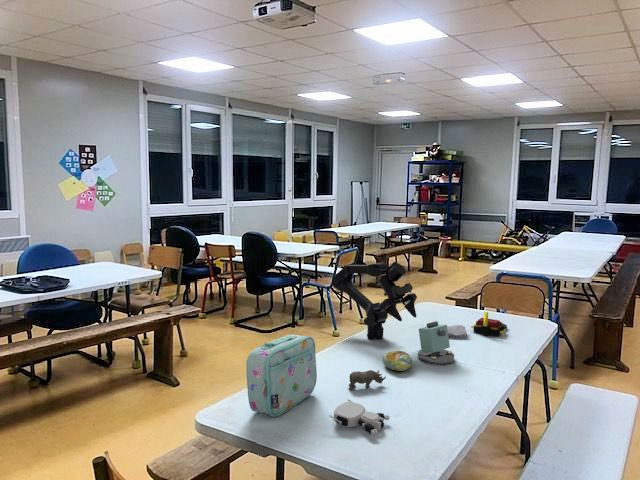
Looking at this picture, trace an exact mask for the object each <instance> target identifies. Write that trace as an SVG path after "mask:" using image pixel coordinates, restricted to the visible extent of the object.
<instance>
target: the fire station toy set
mask: <svg viewBox="0 0 640 480" xmlns="http://www.w3.org/2000/svg"><path fill="white" fill-rule="evenodd" d="M470 328H472V329H473V333H477V334H480V336H481V335H482V336H486V337H490V336H493V337H499V336H500V335H501V334H503V333H504V332H505V331H506V330H507V329H508V325H507V324H505V323H503V322H502V321H500V320H499V319H492V318H489V312H488V311H484V312H483V317H481V318H479V319H477V320H476V321H475V323H473V324H472V325H471V326H470Z"/></svg>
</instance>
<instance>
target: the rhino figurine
mask: <svg viewBox="0 0 640 480" xmlns="http://www.w3.org/2000/svg"><path fill="white" fill-rule="evenodd" d="M386 378H387V377H386V376H384V377H383V376H382V373H380V370H379V369H378V370H377V371H375V370H371V369H370V370H365V371H353V372H351V373H350V374H349V382H350V383H349V384H348V390H349V391H351V392H352V391H354V389H355V388H357V386H356V384H357V383H358V384H361V385H364V384H365V387H364V388H365V389H366V390H369V389H371V387H370V386H371V385H370V384H371V383H372V382H373V381H374V382H375V383H377V384H379V385H380V384H382V383H383V381H384V380H386Z"/></svg>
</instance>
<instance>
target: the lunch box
mask: <svg viewBox="0 0 640 480" xmlns="http://www.w3.org/2000/svg"><path fill="white" fill-rule="evenodd" d="M316 356H317V355H316V343H315V340H314V338H313V337H312V336H305V335H297V334H293V333H292V334H288V335H284V336H283V337H278V338H276V339H274V340H271V341H269V342H264V344H262V345H260V346H258V347H256V348H255V349H252V351H251V352H250V353H249V354H248V356H247V358H246V368H245V369H246V386H247V388H246V389H247V399H248V404H249V407H250V409H251V411H252V412H256V413H261V414H266V415H269V416H271V417H273V418H275V417H279V416H282V415H283V414H284V413H286V412H288V411H289V410H291V409H292V408H294V407H295V406H296V405H298V404H300V403H301V402H302V401H303V400H304V399H306V398H308V397H309V396H310V395H311V394H313V392H314V390H315V387H316V385H317V378H318V377H317V376H318V375H317V373H318V370H317V360H316V359H317V357H316Z"/></svg>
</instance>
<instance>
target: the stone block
mask: <svg viewBox="0 0 640 480" xmlns="http://www.w3.org/2000/svg"><path fill="white" fill-rule="evenodd" d="M447 330H448V337H449V338H450V339H451V338H452V339H460V340H461V339H467V338H468V335H467V334H468V333H467V329H466V327H465V326H464V325H462V324H456V325H455V324H453V325H447Z"/></svg>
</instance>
